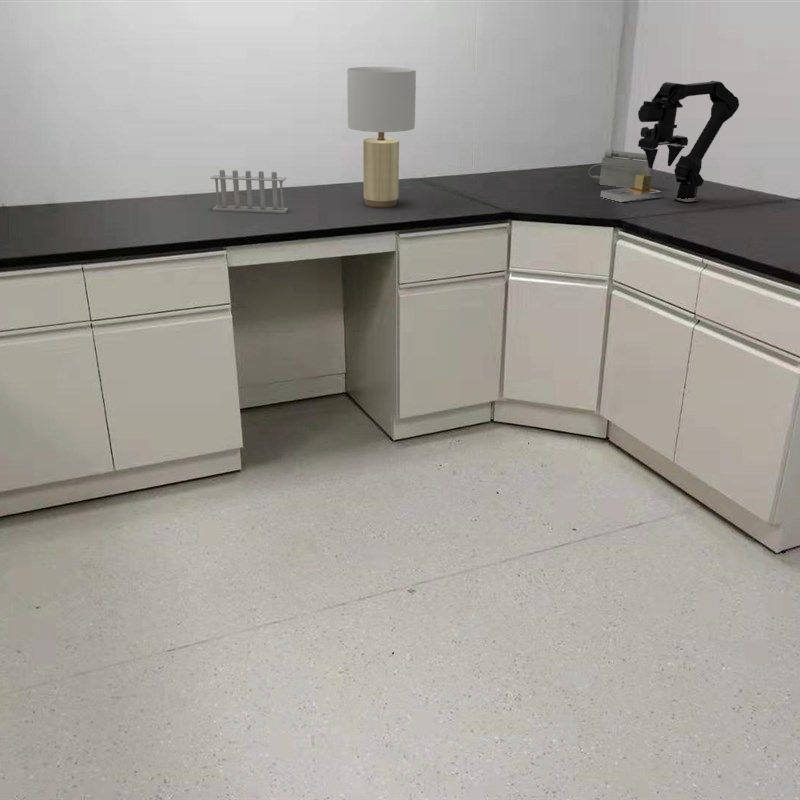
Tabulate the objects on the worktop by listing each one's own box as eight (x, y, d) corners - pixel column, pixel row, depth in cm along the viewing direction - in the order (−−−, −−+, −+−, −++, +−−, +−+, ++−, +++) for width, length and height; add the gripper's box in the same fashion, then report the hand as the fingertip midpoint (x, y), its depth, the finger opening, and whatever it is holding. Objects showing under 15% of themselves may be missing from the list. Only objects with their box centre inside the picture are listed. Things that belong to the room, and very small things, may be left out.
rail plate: (640, 192, 318) (641, 185, 317) (661, 198, 309) (662, 190, 308) (600, 197, 309) (601, 189, 308) (620, 203, 301) (621, 195, 299)
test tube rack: (212, 210, 282) (209, 170, 276) (216, 207, 286) (213, 168, 280) (285, 213, 280) (283, 173, 274) (287, 210, 284) (286, 170, 278)
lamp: (420, 200, 301) (424, 68, 281) (401, 214, 281) (404, 73, 262) (361, 195, 307) (361, 65, 287) (339, 208, 287) (336, 70, 268)
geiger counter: (656, 153, 317) (594, 146, 329) (651, 155, 312) (588, 148, 324) (651, 190, 323) (589, 182, 335) (646, 192, 318) (584, 184, 330)
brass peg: (640, 195, 314) (643, 173, 310) (648, 197, 311) (651, 175, 307) (633, 196, 312) (636, 174, 309) (640, 198, 309) (643, 176, 306)
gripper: (668, 117, 299) (662, 161, 306) (630, 119, 291) (624, 165, 298) (692, 120, 290) (685, 166, 297) (653, 123, 282) (646, 170, 289)
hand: (659, 167), depth 295 cm, fingers open, 9 cm apart
